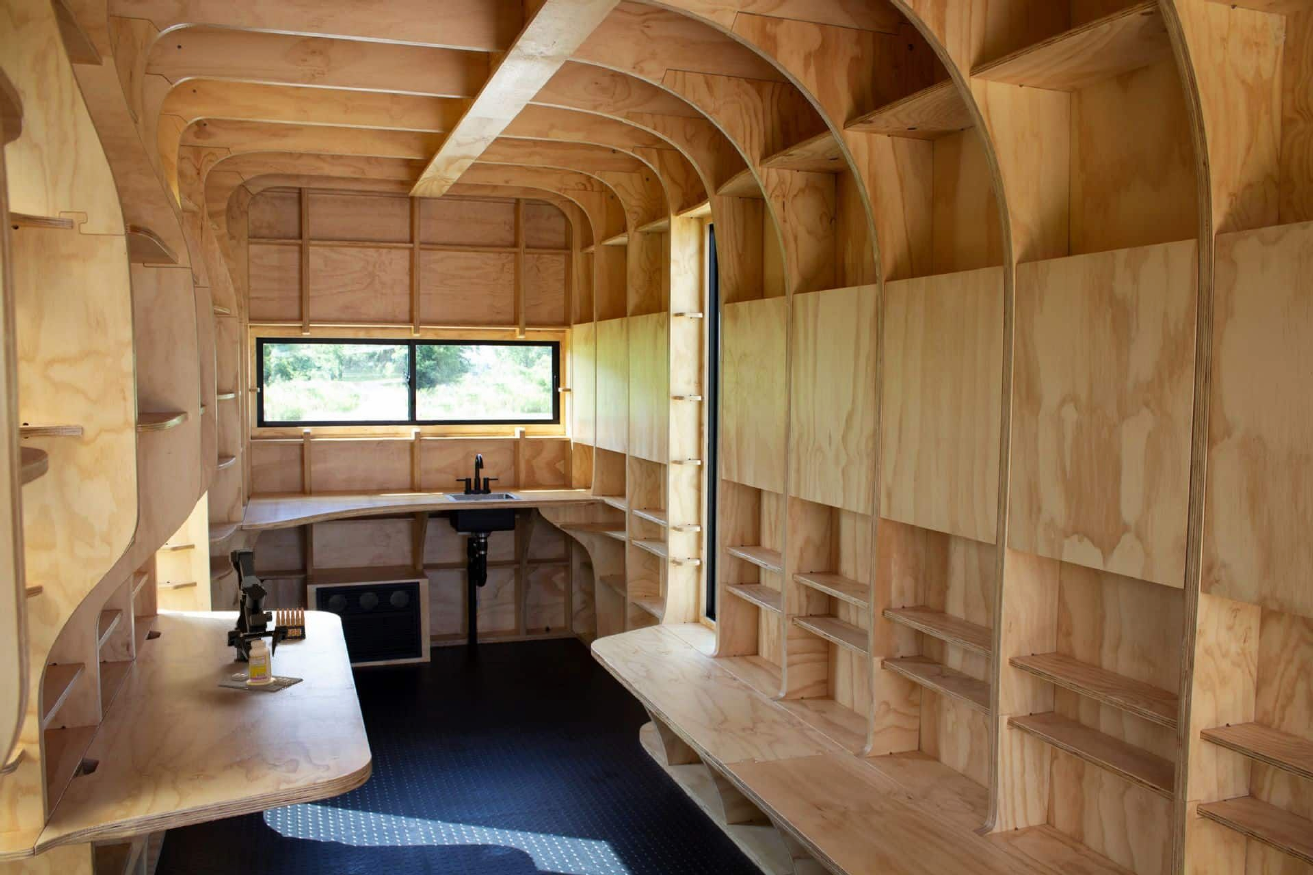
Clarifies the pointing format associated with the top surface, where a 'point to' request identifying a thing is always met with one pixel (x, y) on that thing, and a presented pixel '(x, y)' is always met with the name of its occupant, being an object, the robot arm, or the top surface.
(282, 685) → the curved gray panel
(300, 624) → the ammunition clip
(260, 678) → the supplement bottle
